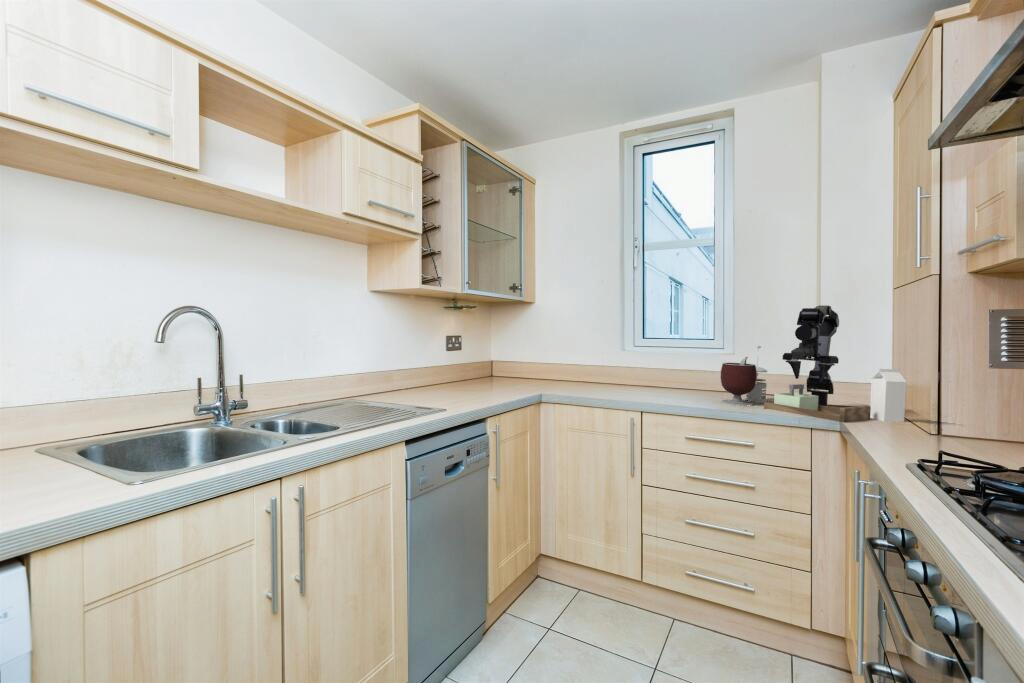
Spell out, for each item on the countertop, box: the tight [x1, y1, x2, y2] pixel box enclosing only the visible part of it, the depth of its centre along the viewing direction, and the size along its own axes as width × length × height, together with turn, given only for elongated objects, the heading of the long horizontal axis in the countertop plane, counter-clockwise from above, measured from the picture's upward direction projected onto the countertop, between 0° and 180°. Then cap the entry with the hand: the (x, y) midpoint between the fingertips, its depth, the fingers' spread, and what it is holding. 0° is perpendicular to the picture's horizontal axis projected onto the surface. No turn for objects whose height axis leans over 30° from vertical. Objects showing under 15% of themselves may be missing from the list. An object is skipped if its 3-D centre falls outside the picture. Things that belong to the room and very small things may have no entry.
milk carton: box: [869, 368, 907, 423], centre depth 171 cm, size 7×7×19 cm
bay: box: [763, 401, 871, 423], centre depth 180 cm, size 17×30×6 cm, turn 28°
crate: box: [773, 383, 818, 411], centre depth 186 cm, size 12×10×10 cm
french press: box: [743, 344, 768, 403], centre depth 214 cm, size 10×12×25 cm
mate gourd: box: [720, 356, 758, 406], centre depth 204 cm, size 16×14×20 cm
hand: (808, 380), depth 186 cm, fingers open, 9 cm apart
